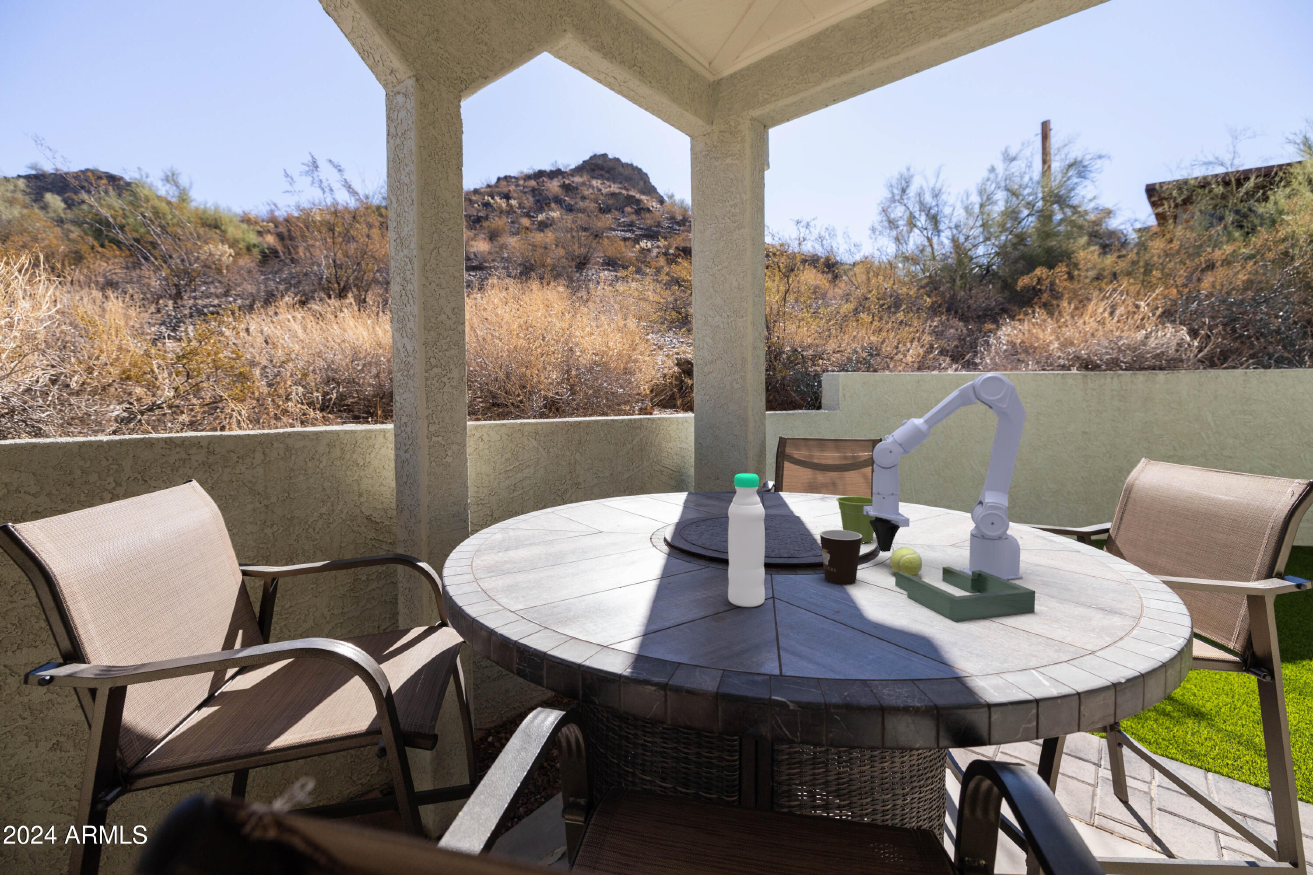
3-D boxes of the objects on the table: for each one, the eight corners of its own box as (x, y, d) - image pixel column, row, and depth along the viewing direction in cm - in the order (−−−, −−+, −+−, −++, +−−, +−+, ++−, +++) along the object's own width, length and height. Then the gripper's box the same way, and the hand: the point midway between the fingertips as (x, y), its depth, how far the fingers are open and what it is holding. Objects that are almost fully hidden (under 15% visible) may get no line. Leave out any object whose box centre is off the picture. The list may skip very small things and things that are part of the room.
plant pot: (888, 546, 153) (889, 503, 152) (843, 546, 153) (843, 504, 152) (872, 535, 164) (873, 495, 164) (830, 535, 165) (830, 495, 164)
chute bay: (956, 579, 126) (956, 561, 125) (1034, 612, 107) (1035, 590, 106) (886, 586, 122) (887, 567, 121) (955, 621, 103) (955, 599, 102)
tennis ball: (926, 549, 125) (910, 540, 132) (896, 554, 125) (882, 546, 131) (929, 577, 126) (913, 568, 132) (900, 583, 125) (885, 573, 132)
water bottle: (767, 597, 116) (767, 472, 114) (761, 609, 109) (762, 477, 107) (732, 593, 118) (732, 471, 116) (724, 605, 112) (724, 476, 110)
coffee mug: (864, 587, 121) (864, 540, 120) (820, 585, 122) (821, 538, 122) (856, 570, 132) (857, 527, 131) (817, 568, 134) (817, 526, 133)
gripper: (852, 489, 141) (851, 544, 142) (890, 499, 127) (888, 560, 128) (878, 487, 143) (877, 542, 144) (918, 497, 129) (916, 558, 130)
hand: (884, 550), depth 136 cm, fingers closed
